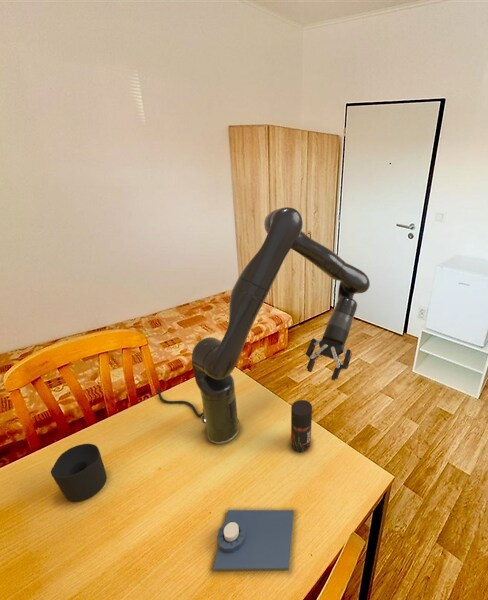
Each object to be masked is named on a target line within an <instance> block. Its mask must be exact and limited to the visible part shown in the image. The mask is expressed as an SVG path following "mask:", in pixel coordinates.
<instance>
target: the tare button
mask: <svg viewBox="0 0 488 600" xmlns="http://www.w3.org/2000/svg"><path fill="white" fill-rule="evenodd" d="M238 535H239V527H238V524H237V523H235V522H231V523H229V524H227V525H226V526H225V528H224V538H225V540H226V541H228V542H232V541H234V540H236V539H237V537H238Z"/></svg>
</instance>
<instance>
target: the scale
mask: <svg viewBox="0 0 488 600" xmlns="http://www.w3.org/2000/svg"><path fill="white" fill-rule="evenodd" d="M231 522H235V523H237V524H238V527H239V535H238V537H237V539H236V540H234V541H232V542H228V541H226V540H225V538H224V528H225V526H226V525H227V524H229V523H231ZM293 523H294V510H292V509H288V510H287V509H286V510H285V509H284V510H283V509H281V510H279V509H278V510H277V509H275V510H273V509H247V510H246V509H228V510H227V513H226V517H225V521H224V523H223V524H222V525H221V526H220V528H219V529H218V530H217V531H218V532H217V536H216V540H217V545H218V548H217V551H216V556H215V559H214V563H213V568H212V572H228V571H229V572H233V571H235V572H236V571H237V572H239V571H241V572H242V571H243V572H244V571H289V570H290V563H291V562H290V561H291V552H292V551H291V550H292V547H291V546H292V538H293Z"/></svg>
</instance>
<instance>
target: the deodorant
mask: <svg viewBox="0 0 488 600" xmlns="http://www.w3.org/2000/svg"><path fill="white" fill-rule="evenodd" d="M290 412H291V413H290V416H291V417H290V446H291V449H292V450H293V451H294V452H295V453H296V452H297V453H305V452H308V450H309V449H310V447H311V445H312V444H311V442H312V424H313V423H312V422H313V419H312V418H313V405H312V404H311V402H310V401H308V400H304V399H299V400H296V401H294V402H293V403H292V404H291V407H290Z"/></svg>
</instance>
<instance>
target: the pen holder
mask: <svg viewBox="0 0 488 600" xmlns="http://www.w3.org/2000/svg"><path fill="white" fill-rule="evenodd" d="M50 475H51V476H52V478H53V480H54V481H55V483H56V485H57V486H58V488H59V490H60V491H61V493H62V495H63V496H64V498H65V499H66V500H67V501H69V502H72V503H79V502H84V501H86V500H89V499H90V498H92V497H94V496H95V495H97V493H99V492H100V491H101V489H102V488H103V487H104V485H105V484H106V483H107V478H108V477H107V472H106V469H105V465H104V462H103V459H102V456H101V452H100V449H99V447H98V446H97V445H96V444H94V443H81V444H77V445H74V446H73V447H70V448H68V449H66V450H65V451H63V452H62V453H61V454H60V455H59V456H58V458H57V459H56V461H55V463H54V465H53V466H52V468H51V470H50Z"/></svg>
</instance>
